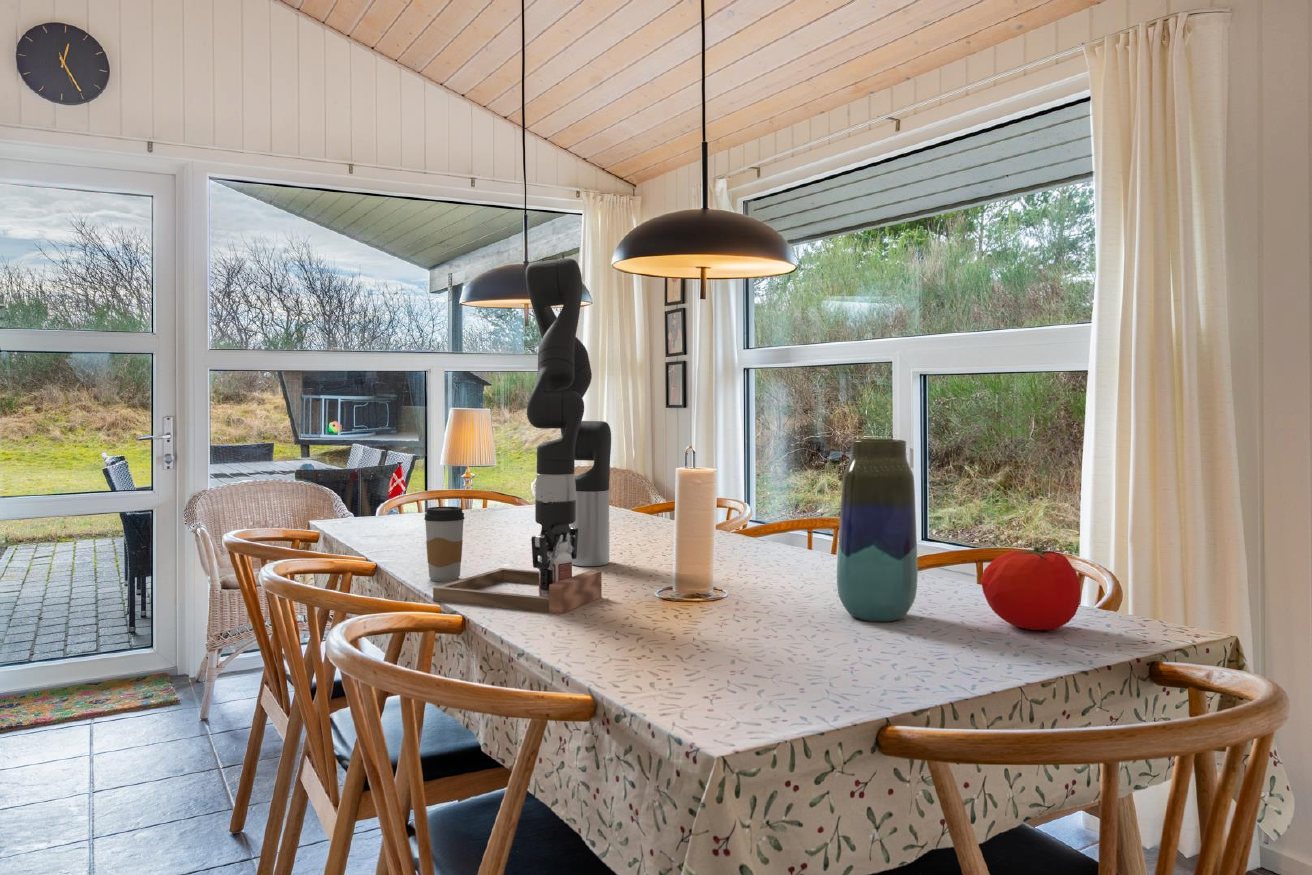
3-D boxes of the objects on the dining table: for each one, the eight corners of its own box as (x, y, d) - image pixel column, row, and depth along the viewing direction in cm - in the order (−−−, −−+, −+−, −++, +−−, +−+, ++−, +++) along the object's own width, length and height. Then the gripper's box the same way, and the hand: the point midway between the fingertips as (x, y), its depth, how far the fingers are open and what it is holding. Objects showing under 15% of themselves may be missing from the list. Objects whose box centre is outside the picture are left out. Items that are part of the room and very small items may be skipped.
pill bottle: (569, 596, 180) (569, 538, 180) (574, 603, 174) (574, 543, 174) (537, 597, 179) (537, 539, 178) (540, 604, 173) (540, 544, 172)
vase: (916, 611, 171) (919, 439, 170) (916, 628, 157) (919, 442, 156) (839, 606, 174) (841, 438, 173) (832, 622, 161) (835, 440, 160)
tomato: (1084, 626, 160) (1086, 545, 159) (1074, 643, 148) (1075, 557, 148) (988, 615, 168) (990, 538, 167) (971, 630, 156) (973, 548, 156)
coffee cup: (469, 575, 203) (469, 506, 202) (457, 583, 195) (457, 510, 194) (432, 574, 204) (431, 505, 203) (418, 582, 195) (418, 510, 195)
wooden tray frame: (500, 579, 199) (500, 555, 199) (618, 590, 188) (618, 565, 188) (433, 600, 177) (433, 573, 177) (561, 613, 167) (561, 585, 166)
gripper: (556, 493, 184) (556, 578, 184) (518, 500, 170) (518, 592, 171) (591, 495, 181) (590, 581, 181) (554, 502, 168) (554, 595, 168)
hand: (555, 586), depth 176 cm, fingers closed on pill bottle, 6 cm apart
